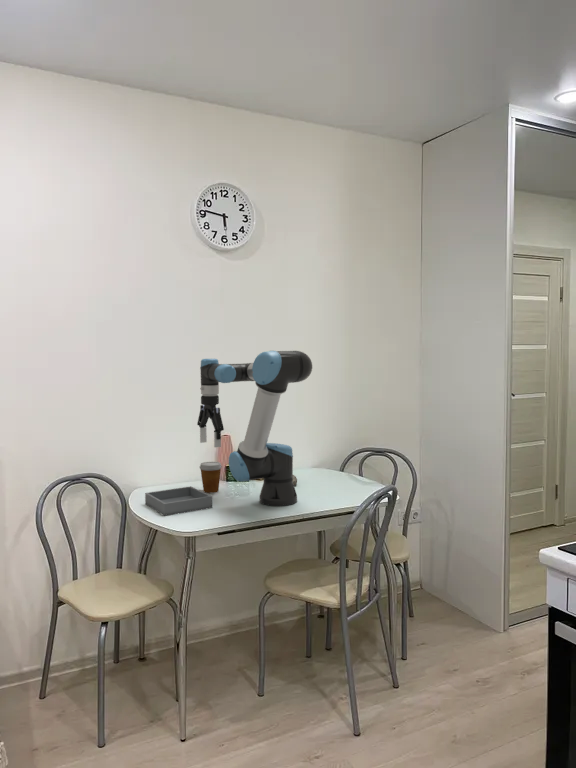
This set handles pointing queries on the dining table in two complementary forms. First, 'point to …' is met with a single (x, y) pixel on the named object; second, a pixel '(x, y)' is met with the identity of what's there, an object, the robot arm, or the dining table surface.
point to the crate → (178, 500)
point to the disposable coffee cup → (210, 476)
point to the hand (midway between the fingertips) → (210, 444)
